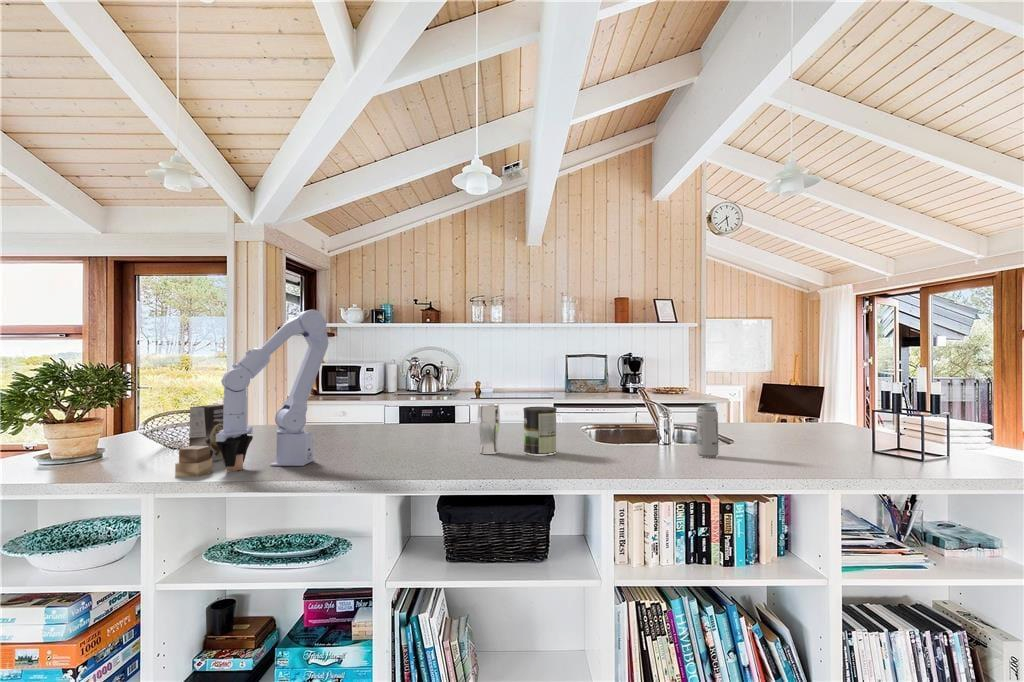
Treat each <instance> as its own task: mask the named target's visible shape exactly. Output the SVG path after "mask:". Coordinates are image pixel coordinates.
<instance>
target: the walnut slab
mask: <svg viewBox="0 0 1024 682" xmlns="http://www.w3.org/2000/svg"><path fill="white" fill-rule="evenodd" d="M206 460H210V446H190V447H189V446H187V447H183V448H179V449H178V462H179V463H199V462H203V461H206Z"/></svg>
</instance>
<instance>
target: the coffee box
mask: <svg viewBox="0 0 1024 682" xmlns="http://www.w3.org/2000/svg"><path fill="white" fill-rule="evenodd" d="M220 430H223V404H208V405H200V406H199V405H197V406H190V407H189V431H188V432H189V436H188V437H189V442H188V444H189V445H188V447H190V446H210V459H212V463H214V462H218V461H222V460H224V459H223V455H222V453H221V450H220V448H219V447H218V445H217V444H216V434H218V433H219V431H220ZM221 459H222V460H221ZM217 460H218V461H217Z"/></svg>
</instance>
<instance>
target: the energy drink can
mask: <svg viewBox="0 0 1024 682" xmlns="http://www.w3.org/2000/svg"><path fill="white" fill-rule="evenodd" d="M696 454H697V455H698V457H699V456H702V457H716V456H718V455H719V412H718V411H717V409H716V405H698V408H697V410H696ZM702 457H701V458H702ZM716 458H717V457H716Z"/></svg>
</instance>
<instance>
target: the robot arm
mask: <svg viewBox="0 0 1024 682" xmlns="http://www.w3.org/2000/svg"><path fill="white" fill-rule="evenodd" d="M327 324H328V322H327V320H326V319H325V318H324V315H323V314H322V313H321V312H320V311H318V310H317V309H308V310H305V311H299V312H297V313H296V314H295V315H294V316H293V317H291V318H290V319H288V320H287V321H286V322H285V323H283V325H281V327H280V328H279V329H278V330H276V331H275V333H274V334H272V336H271V337H270V338H268V340H267V341H265V343H264V344H263V345H262V346H261V347H253V348H251V349H247V350H246V351H244V354H245V355H244V356H243V357H242V358H241V359H240V360H239V361H238V362H236V363H233V364H232V365H231V367H232V369H229V370H227V371H226V372H225V373H224V374H223V376H222V379H221V384H222V386H223V400H222V402H223V403H222V405H223V430H220V431H219V433H218V434H216V444H217V445H218V447H219V448H220V450H221V453H222V455H223V459H222V460H223V463H224V465H225V468H226V467H233V466H234V465H235V461H236V454H243V464H244V462H245V459H246V455H247V452H248V449H249V446H250V443H251V442H252V440H253V437H254V436H253V435H252V434H254V433H253V431H254V428H253V426H248V396H247V394H248V393H247V391H248V389H247V387H249V385H250V384H251V380H252V379H254V378H255V377H256V376H257V375H258V374H259V373H260V372H261V371H262V370H263V369H264V368H266V367H267V366H268V365H269V363H270V362H271V355H272V354H273V353H275V352H276V351H277V350H278V349H279V348H280V347H282V346H283V344H285V342H286V341H288V340H289V339H290V338H291V337H293V336H296V335H297V336H298V335H302V336H303V338H304V339H305V341H306V343H307V345H308V346H307V350H306V352H305V354H304V358H303V360H302V362H301V364H300V366H299V369H298V373H297V375H296V377H295V380H294V382H293V385H292V387H291V390H290V393H289V395H288V397H287V398H286V399H285V401H284V402H283V405H282V406H281V408H279V410H277V412H276V413H275V416H274V422H275V424H276V426H277V427H278V428H277V430H276V439H275V440H276V446H275V447H276V449H275V450H276V451H275V452H276V455H275V457H276V459H275V460H276V461H274V462H272V463H269V466H272V467H275V466H278V467H279V466H280V467H282V466H283V467H284V466H286V467H289V466H290V467H298V466H299V467H301V466H302V467H303V466H306V465H307V464H309V463H311V462H314V461H315V458H314V437H313V434H312V433H311V432H307V431H305V429H304V427H305V425H306V423H307V417H306V416H307V415H306V414H307V411H308V400H309V397H310V394H311V392H312V389H313V386H314V385H315V382H316V379H317V376H318V374H319V371H320V368H321V365H322V363H323V360H324V357H325V355H326V353H327V350H328V347H329V343H330V342H329V338H328V336H329V335H328V332H327Z"/></svg>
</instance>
